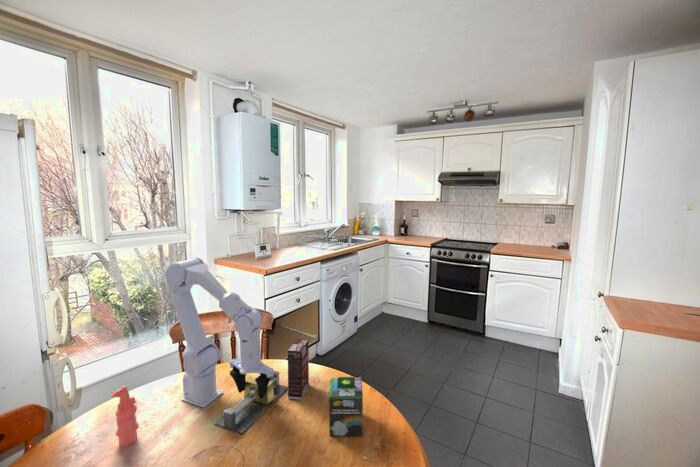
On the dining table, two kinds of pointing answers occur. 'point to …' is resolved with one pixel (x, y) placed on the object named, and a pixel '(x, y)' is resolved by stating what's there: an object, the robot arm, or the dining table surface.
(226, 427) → the pipe stand
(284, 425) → the dining table surface
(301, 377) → the supplement box
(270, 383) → the yellow block with hole
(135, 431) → the figurine
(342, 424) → the chalk box
